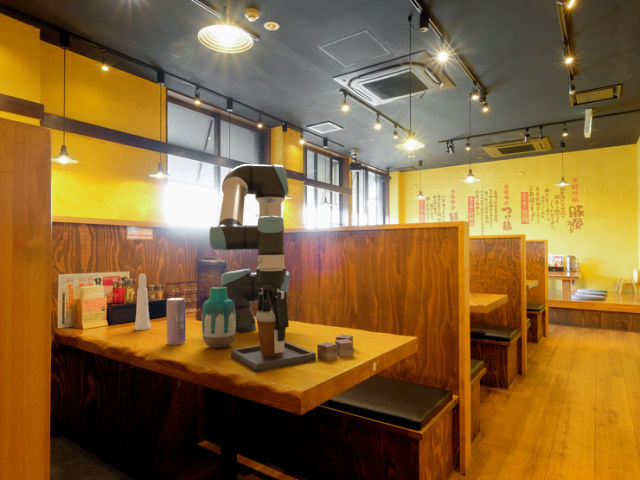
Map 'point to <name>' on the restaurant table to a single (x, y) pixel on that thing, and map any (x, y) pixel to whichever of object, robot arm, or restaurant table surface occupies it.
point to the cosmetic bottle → (142, 306)
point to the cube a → (327, 351)
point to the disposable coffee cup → (267, 332)
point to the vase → (218, 319)
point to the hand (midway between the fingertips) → (272, 348)
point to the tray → (272, 357)
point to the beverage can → (176, 321)
